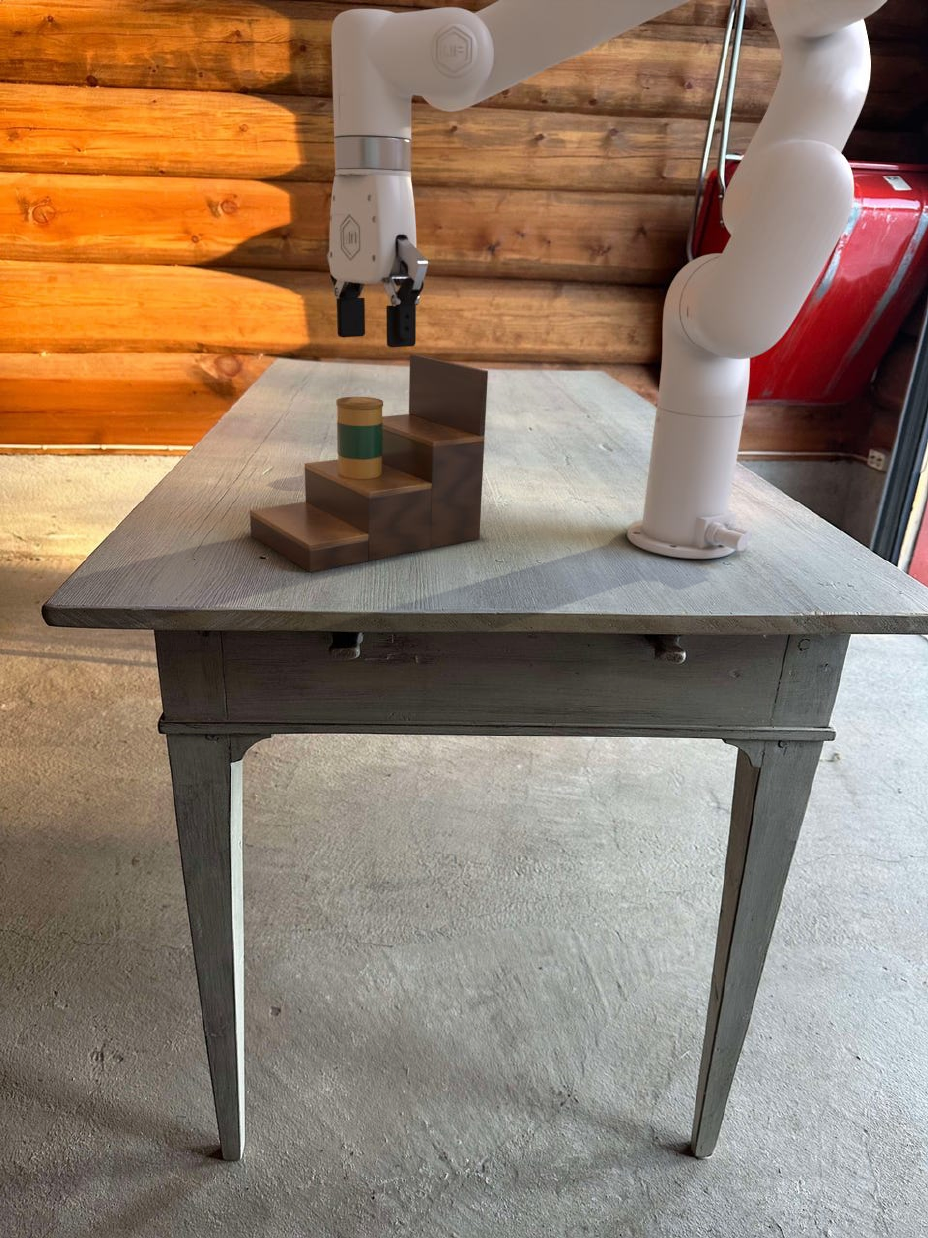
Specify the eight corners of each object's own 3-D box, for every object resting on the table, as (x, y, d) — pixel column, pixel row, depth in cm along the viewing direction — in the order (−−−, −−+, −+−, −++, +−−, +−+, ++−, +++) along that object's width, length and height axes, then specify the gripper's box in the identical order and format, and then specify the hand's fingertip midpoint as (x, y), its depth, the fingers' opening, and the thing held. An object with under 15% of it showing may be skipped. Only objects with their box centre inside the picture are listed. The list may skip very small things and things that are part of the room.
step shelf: (309, 572, 93) (305, 383, 85) (250, 535, 103) (241, 362, 96) (479, 538, 105) (488, 370, 98) (411, 508, 116) (415, 353, 108)
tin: (352, 481, 98) (351, 406, 94) (328, 471, 101) (327, 398, 98) (391, 476, 100) (392, 402, 97) (367, 466, 104) (367, 395, 101)
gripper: (297, 161, 94) (304, 334, 101) (389, 154, 81) (390, 353, 88) (359, 165, 98) (362, 331, 105) (456, 160, 86) (452, 348, 92)
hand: (375, 341), depth 96 cm, fingers open, 9 cm apart
